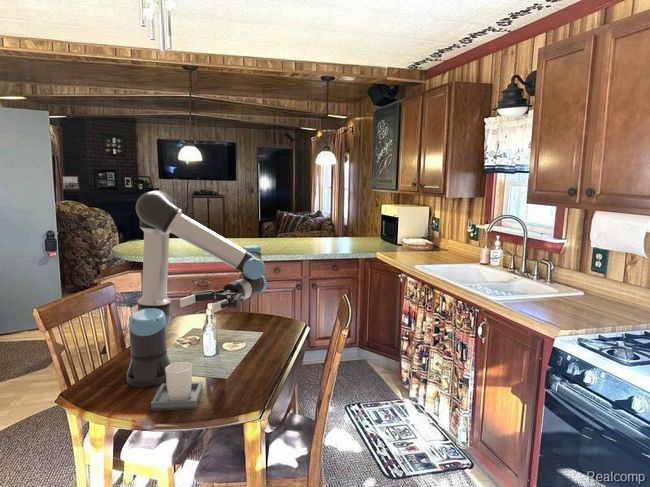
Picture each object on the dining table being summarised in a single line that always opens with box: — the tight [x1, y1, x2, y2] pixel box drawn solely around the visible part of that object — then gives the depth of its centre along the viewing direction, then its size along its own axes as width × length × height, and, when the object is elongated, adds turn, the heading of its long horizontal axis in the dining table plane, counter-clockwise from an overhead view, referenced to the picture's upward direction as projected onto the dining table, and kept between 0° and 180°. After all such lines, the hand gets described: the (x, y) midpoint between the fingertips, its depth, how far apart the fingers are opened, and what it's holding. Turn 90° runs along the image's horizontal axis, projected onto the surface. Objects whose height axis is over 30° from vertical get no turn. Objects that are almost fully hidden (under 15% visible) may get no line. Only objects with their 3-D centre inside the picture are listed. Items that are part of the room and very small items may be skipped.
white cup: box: [165, 361, 193, 401], centre depth 141 cm, size 8×8×10 cm
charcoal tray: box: [150, 381, 204, 412], centre depth 142 cm, size 13×13×2 cm
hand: (196, 305), depth 147 cm, fingers open, 13 cm apart
